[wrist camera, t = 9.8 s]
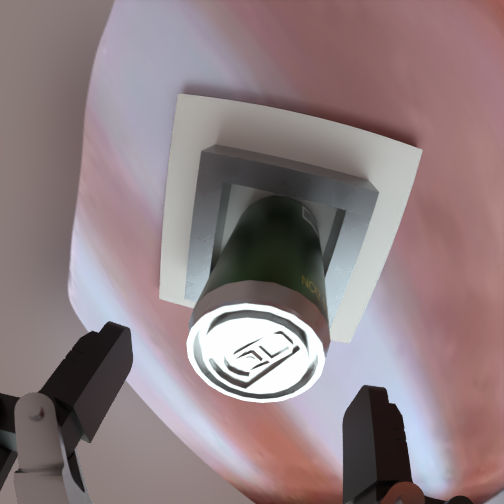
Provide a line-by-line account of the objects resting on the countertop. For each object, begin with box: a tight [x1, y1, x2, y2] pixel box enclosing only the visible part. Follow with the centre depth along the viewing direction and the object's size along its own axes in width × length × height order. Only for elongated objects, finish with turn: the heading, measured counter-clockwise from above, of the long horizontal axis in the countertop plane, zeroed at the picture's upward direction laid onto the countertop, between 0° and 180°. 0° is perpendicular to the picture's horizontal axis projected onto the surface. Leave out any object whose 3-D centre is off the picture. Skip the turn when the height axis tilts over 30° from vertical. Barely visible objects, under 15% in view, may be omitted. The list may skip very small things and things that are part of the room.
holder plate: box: [159, 94, 423, 343], centre depth 22 cm, size 16×16×1 cm
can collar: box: [184, 144, 379, 329], centre depth 20 cm, size 10×10×3 cm
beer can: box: [187, 196, 330, 403], centre depth 16 cm, size 5×5×12 cm
